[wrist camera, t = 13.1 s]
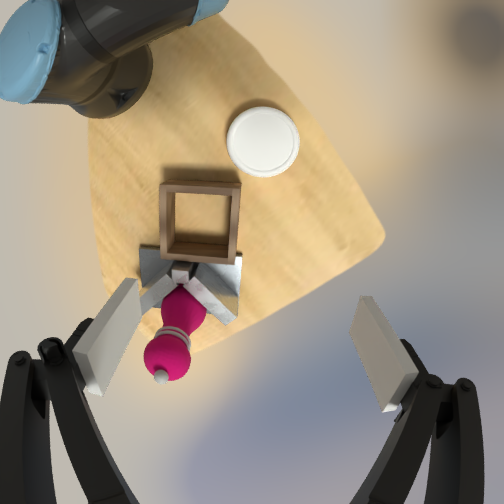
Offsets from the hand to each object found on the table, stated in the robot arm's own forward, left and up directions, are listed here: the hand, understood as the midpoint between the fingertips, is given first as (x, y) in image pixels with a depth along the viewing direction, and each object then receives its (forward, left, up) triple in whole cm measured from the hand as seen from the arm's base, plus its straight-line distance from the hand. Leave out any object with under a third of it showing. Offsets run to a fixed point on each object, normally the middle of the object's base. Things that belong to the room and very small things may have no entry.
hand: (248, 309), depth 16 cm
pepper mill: (+16, -9, -28) cm, 33 cm away
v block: (+14, -9, -29) cm, 33 cm away
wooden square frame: (+3, -7, -29) cm, 30 cm away
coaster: (-9, +1, -29) cm, 31 cm away
